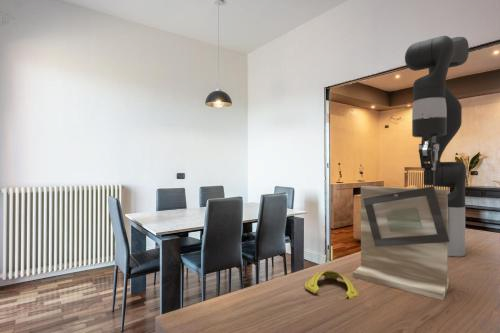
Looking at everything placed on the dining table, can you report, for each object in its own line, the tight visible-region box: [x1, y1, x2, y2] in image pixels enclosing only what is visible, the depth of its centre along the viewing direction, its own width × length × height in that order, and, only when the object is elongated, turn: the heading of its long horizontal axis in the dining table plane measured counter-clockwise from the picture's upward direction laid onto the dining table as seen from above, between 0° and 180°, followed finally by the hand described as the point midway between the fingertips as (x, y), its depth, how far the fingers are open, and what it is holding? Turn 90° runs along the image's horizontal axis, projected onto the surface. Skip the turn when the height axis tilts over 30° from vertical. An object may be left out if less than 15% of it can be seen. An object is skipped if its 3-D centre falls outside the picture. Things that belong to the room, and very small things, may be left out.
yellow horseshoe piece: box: [304, 270, 359, 300], centre depth 75 cm, size 13×13×4 cm
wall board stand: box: [352, 185, 450, 301], centre depth 80 cm, size 12×22×26 cm, turn 49°
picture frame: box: [363, 185, 450, 247], centre depth 78 cm, size 2×18×14 cm, turn 50°
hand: (429, 185), depth 74 cm, fingers closed
